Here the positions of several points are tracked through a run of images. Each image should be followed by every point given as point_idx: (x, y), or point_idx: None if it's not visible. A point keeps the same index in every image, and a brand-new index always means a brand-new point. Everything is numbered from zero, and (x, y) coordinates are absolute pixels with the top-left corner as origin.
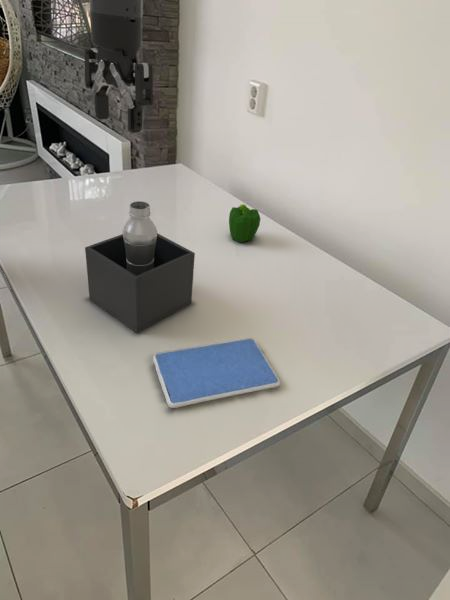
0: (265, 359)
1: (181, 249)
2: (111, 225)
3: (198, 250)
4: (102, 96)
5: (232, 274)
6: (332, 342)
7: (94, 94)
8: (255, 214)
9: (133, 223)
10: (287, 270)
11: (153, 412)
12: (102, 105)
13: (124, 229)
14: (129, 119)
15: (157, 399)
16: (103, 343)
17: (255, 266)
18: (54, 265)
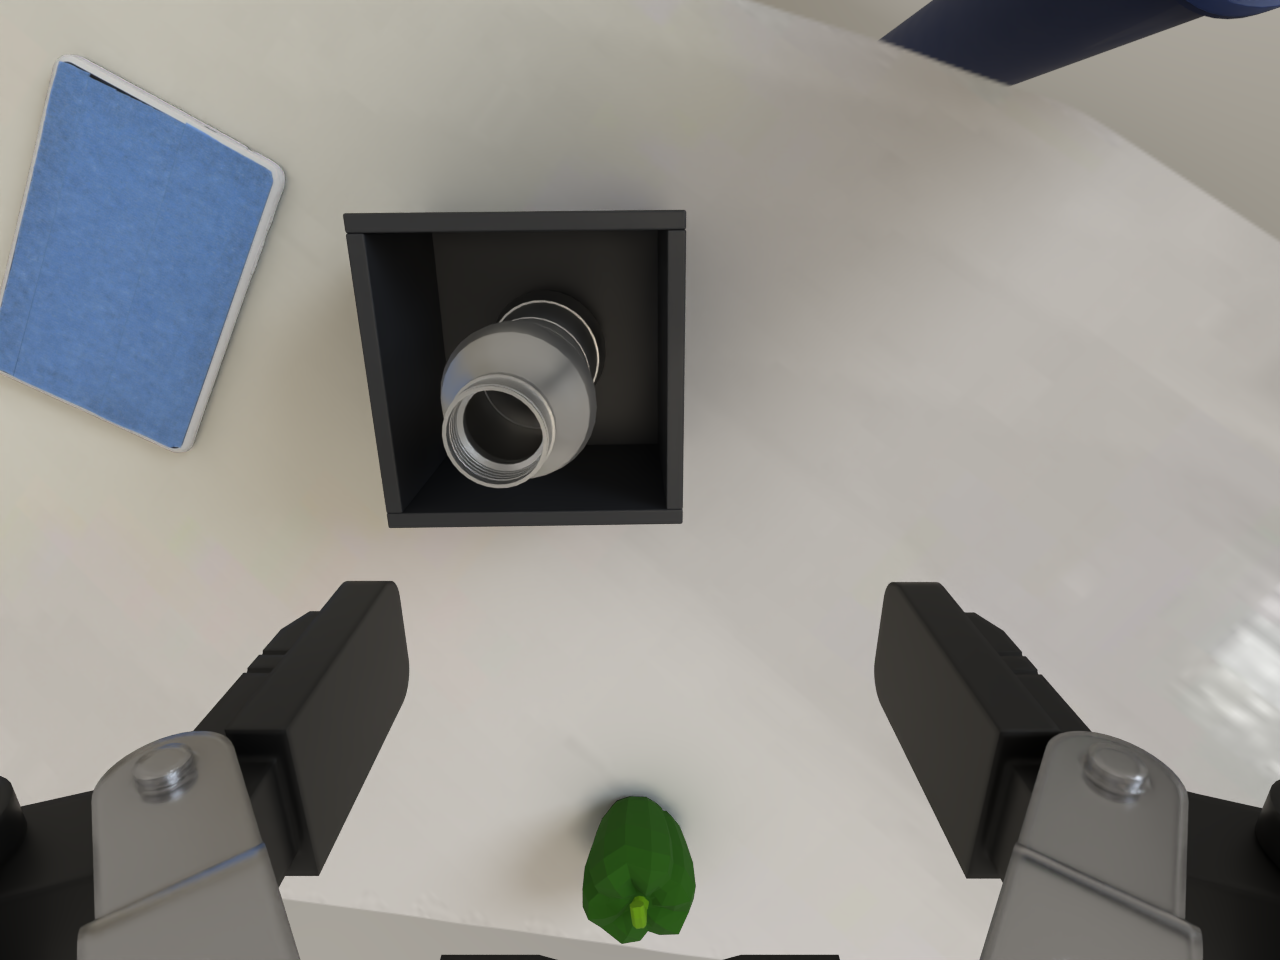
0: (83, 408)
1: (445, 511)
2: (1009, 574)
3: (672, 677)
4: (982, 798)
5: (495, 655)
6: (80, 611)
7: (1068, 734)
8: (597, 915)
9: (491, 366)
10: (412, 783)
11: (92, 10)
12: (931, 710)
13: (539, 338)
14: (315, 646)
15: (132, 57)
16: (441, 98)
17: (486, 735)
18: (933, 248)
